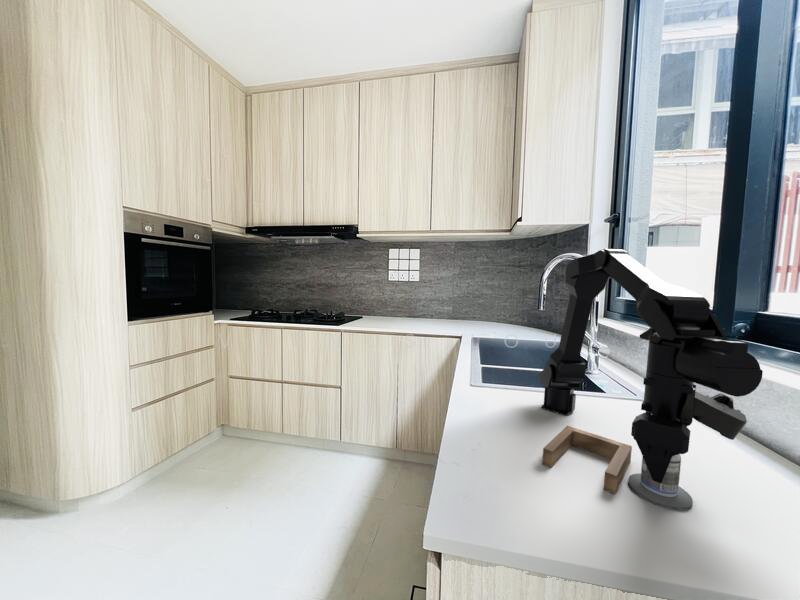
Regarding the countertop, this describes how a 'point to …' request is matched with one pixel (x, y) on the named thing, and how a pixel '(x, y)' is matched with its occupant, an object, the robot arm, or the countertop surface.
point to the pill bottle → (669, 482)
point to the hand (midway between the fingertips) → (660, 469)
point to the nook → (592, 443)
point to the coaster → (677, 502)
